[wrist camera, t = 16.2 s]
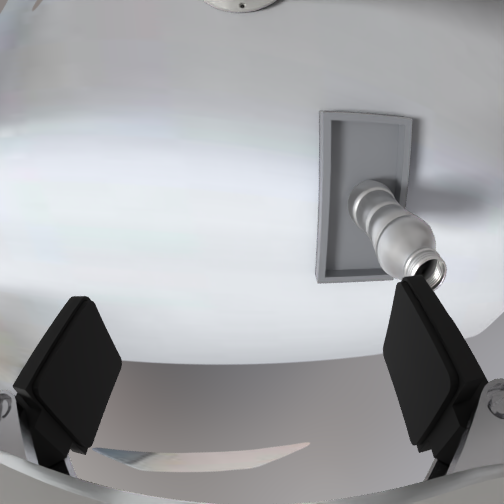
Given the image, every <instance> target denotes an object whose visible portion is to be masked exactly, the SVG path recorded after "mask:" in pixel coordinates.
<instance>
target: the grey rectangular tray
mask: <svg viewBox="0 0 504 504" xmlns="http://www.w3.org/2000/svg"><path fill="white" fill-rule="evenodd" d="M411 138H412V118H407V117H400V116H391V115H380V114H368V113H354V112H334V111H319V205H318V232H317V252H316V270H315V275H316V279H317V283H343V282H365V281H384V280H393V278H394V277H392V276H390V275H389V274H387V273H386V272H385V271H384V270H383V269H382V267H381V266H380V263H379V261H378V259H377V255H376V252H375V249H374V246H373V244H372V242H371V240H370V238H369V236H368V235H367V234H366V233H365V232H364V231H363V230H362V229H360V228H359V227H358V226H357V225H356V224H355V223H354V222H353V221H352V219H351V217H350V215H349V210H348V198H349V195H350V193H351V191H352V190H353V189H354V187H355V186H356V185H358V184H359V183H361V182H363V181H367V180H373V181H377V182H380V183H383V184H384V185H386V186H387V187H388V188H389V189H390V191H391V192H392V194H393V195H394V197H395V199H396V201H397V202H398V203H399V204H400V205H401V206H402V207H403V208H404V209H405V205H406V197H407V188H408V178H409V167H410V154H411Z"/></svg>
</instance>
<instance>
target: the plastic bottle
mask: <svg viewBox="0 0 504 504" xmlns="http://www.w3.org/2000/svg"><path fill="white" fill-rule="evenodd" d="M348 210H349V215H350V217H351V219H352V221H353V222H354V223H355V224H356V225H357V226H358V227H359V228H360V229H362V230H363V231H364V232H365V233H366V234H367V235H368V236H369V238H370V240H371V242H372V244H373V246H374V249H375V252H376V255H377V259H378V261H379V263H380V266H381V267H382V269H383V270H384V271H385V272H386V273H387V274H389V275H390V276H392V277H394V278H395V279H399V280H402V279H403V277H407V276H416V275H422V276H423V277H424V278H425V280H426V281H427V283H428V284H429V286H430V287H431V289H432V290H433V291H435V290H436V289H437V288H438V287H439V286H440V285H441V284H442V282H443V281H444V279H445V276H446V270H447V268H446V264H445V262H444V261H443V259H442V258H441V257H440V255H439V254H438V253H437V251H436V241H435V237H434V234H433V231H432V229H431V227H430V226H429V225H428V224H427V223H426V222H425V221H424V220H422V219H421V218H419V217H417V216H416V215H414V214H412V213H410V212H408V211H407V210H406V209H404V208H403V207H402V206H401V205H400V204H399V203H398V202H397V201H396V199H395V197H394V195H393V194H392V192H391V191H390V189H389V188H388V187H387V186H386V185H384V184H383V183H380V182H377V181H373V180H367V181H363V182H361V183H359V184H358V185H356V186H355V187H354V189H353V190H352V191H351V193H350V195H349V198H348Z"/></svg>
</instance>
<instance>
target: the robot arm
mask: <svg viewBox="0 0 504 504" xmlns="http://www.w3.org/2000/svg"><path fill="white" fill-rule="evenodd" d="M203 1H204V2H206V3H207V4H209V5H210V6H212V7H215V8H217V9H220V10H223V11H227V12H236V13H237V12H250V11H256V10H259V9H262V8H265V7H267V6H269V5H271V4H272V3H274V2H275V1H276V0H203ZM241 6H245V7H244V8H241ZM383 354H384V359H385V361H386V364H387V367H388V370H389V373H390V376H391V379H392V382H393V385H394V388H395V391H396V394H397V397H398V400H399V404H400V407H401V410H402V413H403V417H404V420H405V423H406V427H407V430H408V434H409V437H410V441H411V443H412V444H413V445H417V448H418V451H419V453H420V452H424V451H427V450H430V449H432V452H433V456H434V458H435V459H434V461H433V463H432V465H431V467H430V469H429V472H428V473H427V475H426V477H425V479H424V481H423V482H420V483H416V484H412V485H408V486H405V487H400V488H396V489H392V490H387V491H383V492H377V493H372V494H367V495H361V496H356V497H350V498H343V499H336V500H329V501H319V502H309V503H296V504H504V379H494V380H492V381H490V382H488V381H487V379H486V377H485V375H484V373H483V371H482V370H481V368H480V366H479V364H478V362H477V360H476V359H475V357H474V355H473V353H472V351H471V350H470V348H469V346H468V344H467V343H466V341H465V339H464V338H463V336H462V334H461V333H460V331H459V329H458V328H457V326H456V324H455V323H454V321H453V320H452V318H451V317H450V316H449V315H448V313H447V311H446V310H445V308H444V307H443V305H442V304H441V302H440V301H439V299H438V298H437V296H436V294H435V293H434V291H433V290H432V289H431V287H430V286H429V284H428V283H427V281H426V280H425V278H424V277H423V276H422V275H416V276H407V277H403V279H402V281H401V282H399V283H397V285H396V290H395V296H394V301H393V306H392V311H391V315H390V320H389V325H388V329H387V333H386V338H385V342H384V346H383ZM121 366H122V361H121V357H120V355H119V353H118V351H117V349H116V347H115V345H114V343H113V341H112V339H111V337H110V335H109V333H108V331H107V329H106V327H105V325H104V323H103V321H102V318H101V316H100V314H99V312H98V310H97V307H96V305H95V303H94V302H93V301H91V300H90V298H89V297H86V296H73V297H71V298H70V299H69V300H68V302H67V303H66V304H65V306H64V307H63V309H62V310H61V311H60V313H59V314H58V316H57V317H56V319H55V320H54V321H53V323H52V324H51V326H50V327H49V329H48V330H47V332H46V333H45V335H44V336H43V338H42V339H41V341H40V342H39V344H38V345H37V347H36V348H35V350H34V352H33V353H32V355H31V356H30V358H29V360H28V361H27V363H26V364H25V366H24V368H23V369H22V371H21V373H20V374H19V376H18V378H17V379H16V381H15V383H14V385H13V388H14V389H15V390H16V391H17V395H16V396H15V395H14V394H13V393H12V392H11V391H9V390H0V504H214V503H201V502H191V501H182V500H174V499H167V498H161V497H154V496H148V495H143V494H138V493H133V492H128V491H123V490H119V489H115V488H111V487H107V486H103V485H99V484H95V483H92V482H88V481H85V480H82V479H78V478H77V475H76V473H75V470H74V468H73V465H72V463H71V460H70V458H69V455H68V453H69V450H70V449H71V450H72V451H73V452H77V453H81V454H84V455H86V452H87V449H88V448H89V447H91V446H92V444H93V441H94V438H95V436H96V432H97V430H98V427H99V424H100V422H101V419H102V416H103V413H104V411H105V408H106V405H107V403H108V400H109V397H110V395H111V392H112V390H113V387H114V385H115V382H116V380H117V377H118V374H119V372H120V370H121Z"/></svg>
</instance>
